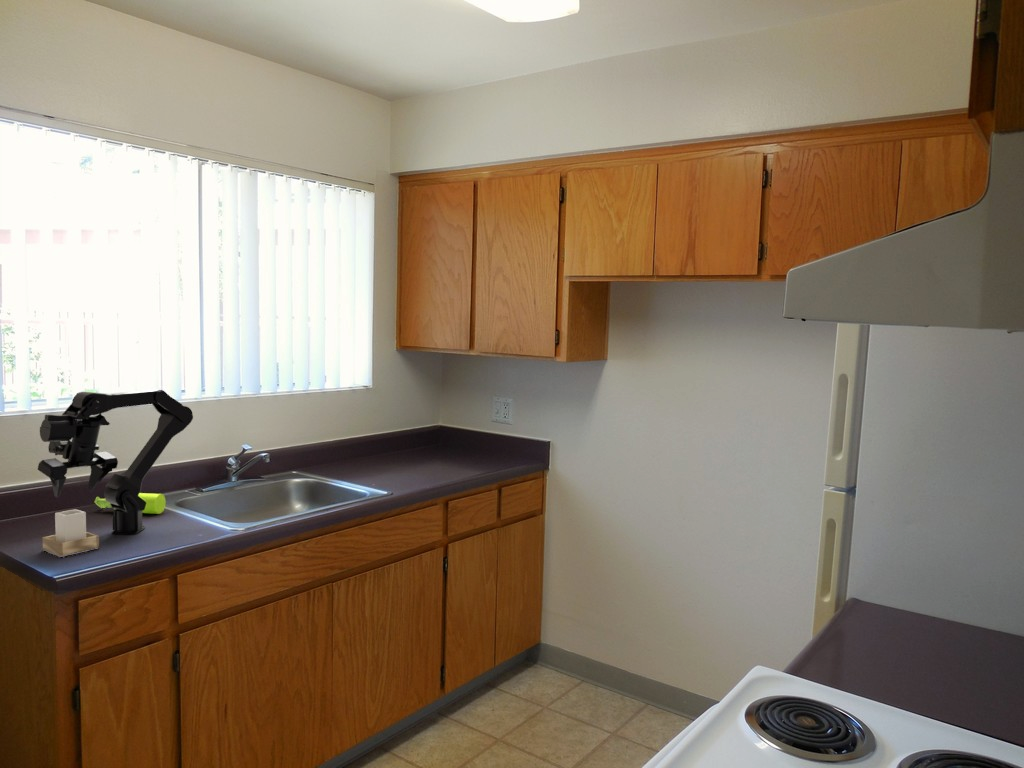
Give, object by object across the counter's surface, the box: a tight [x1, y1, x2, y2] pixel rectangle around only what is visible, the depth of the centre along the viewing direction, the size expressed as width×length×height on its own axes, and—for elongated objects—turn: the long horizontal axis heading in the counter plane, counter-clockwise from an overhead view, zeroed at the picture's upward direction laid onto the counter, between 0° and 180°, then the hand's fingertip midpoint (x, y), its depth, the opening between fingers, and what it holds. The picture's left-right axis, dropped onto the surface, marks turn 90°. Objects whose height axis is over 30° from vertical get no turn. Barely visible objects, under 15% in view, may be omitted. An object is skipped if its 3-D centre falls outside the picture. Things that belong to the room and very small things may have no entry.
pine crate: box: [42, 530, 100, 556], centre depth 190 cm, size 9×9×4 cm
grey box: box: [54, 508, 87, 543], centre depth 189 cm, size 5×5×9 cm
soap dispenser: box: [94, 492, 167, 515], centre depth 228 cm, size 6×7×20 cm
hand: (73, 493), depth 200 cm, fingers open, 9 cm apart
